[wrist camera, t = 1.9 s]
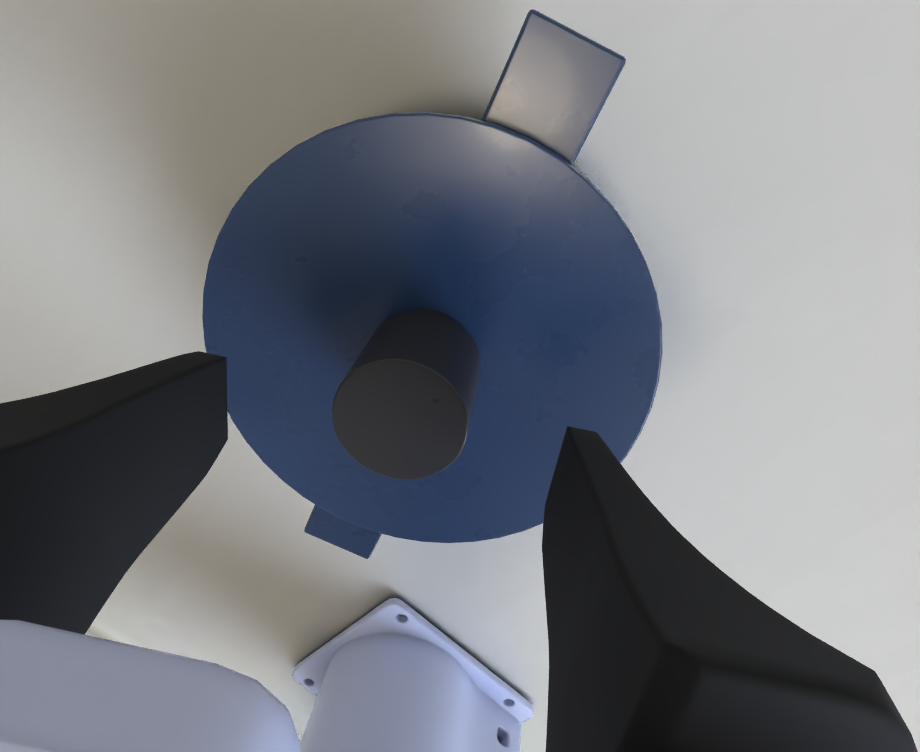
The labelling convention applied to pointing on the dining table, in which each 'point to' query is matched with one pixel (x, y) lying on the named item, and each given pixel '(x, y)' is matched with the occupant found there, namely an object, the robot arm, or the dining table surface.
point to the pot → (537, 117)
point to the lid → (429, 323)
